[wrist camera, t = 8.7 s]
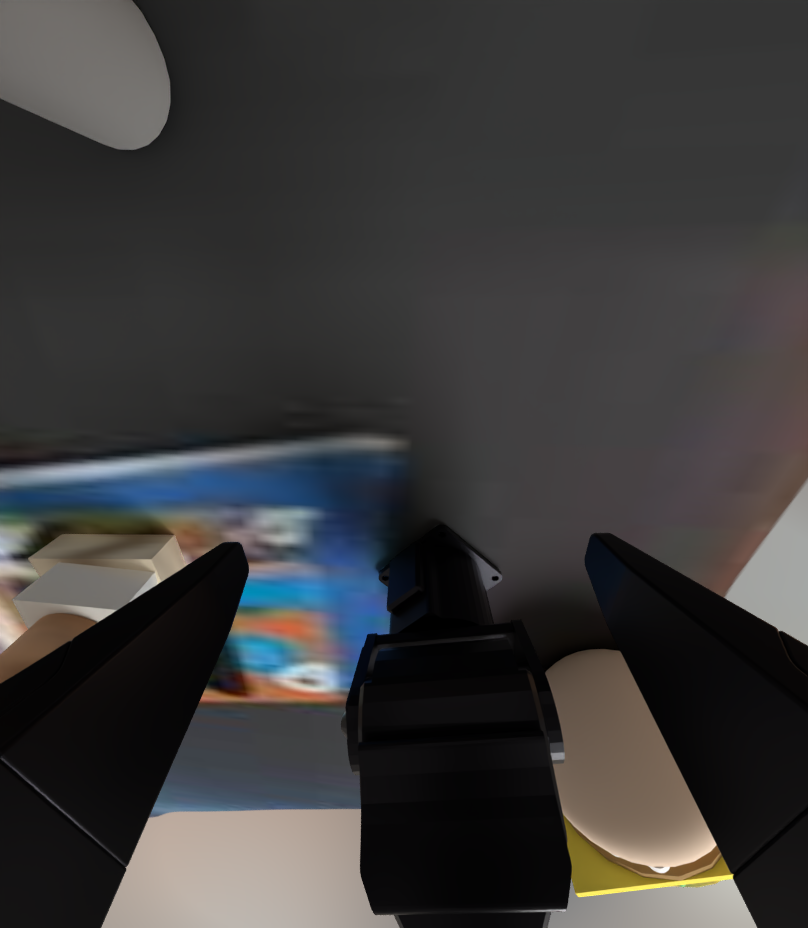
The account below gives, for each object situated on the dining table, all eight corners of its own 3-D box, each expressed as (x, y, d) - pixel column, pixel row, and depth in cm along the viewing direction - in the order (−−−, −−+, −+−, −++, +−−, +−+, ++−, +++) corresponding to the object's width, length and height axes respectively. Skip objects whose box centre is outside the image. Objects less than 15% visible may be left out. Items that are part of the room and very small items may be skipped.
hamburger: (648, 613, 27) (801, 828, 16) (665, 673, 30) (801, 883, 20) (500, 656, 30) (550, 864, 19) (531, 706, 33) (587, 907, 23)
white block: (155, 572, 23) (121, 610, 20) (171, 632, 26) (143, 674, 23) (59, 562, 22) (12, 599, 20) (85, 624, 25) (47, 665, 23)
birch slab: (179, 529, 25) (151, 559, 22) (208, 608, 29) (187, 642, 26) (68, 529, 25) (28, 558, 22) (112, 607, 29) (81, 641, 26)
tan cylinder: (137, 643, 21) (64, 738, 17) (102, 676, 23) (28, 770, 19) (53, 600, 20) (-51, 693, 15) (23, 639, 21) (-78, 733, 17)
